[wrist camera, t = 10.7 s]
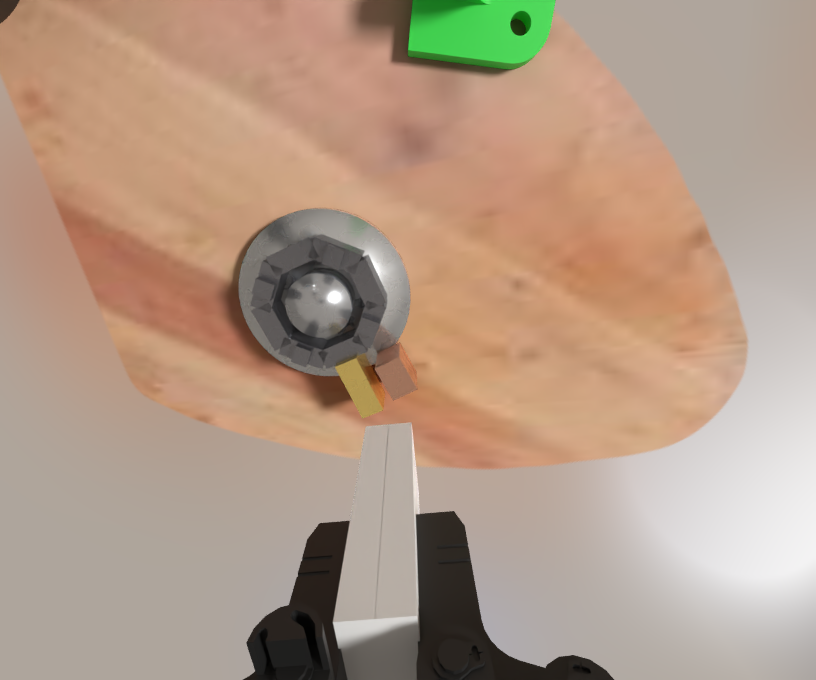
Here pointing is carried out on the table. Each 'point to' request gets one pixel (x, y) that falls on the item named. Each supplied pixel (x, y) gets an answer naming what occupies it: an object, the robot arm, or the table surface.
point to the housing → (335, 291)
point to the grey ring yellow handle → (320, 351)
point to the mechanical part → (479, 31)
